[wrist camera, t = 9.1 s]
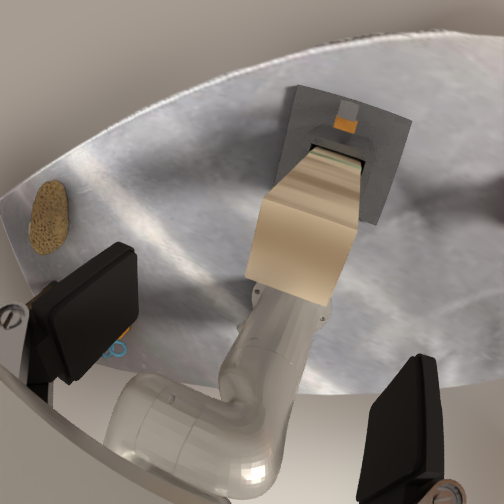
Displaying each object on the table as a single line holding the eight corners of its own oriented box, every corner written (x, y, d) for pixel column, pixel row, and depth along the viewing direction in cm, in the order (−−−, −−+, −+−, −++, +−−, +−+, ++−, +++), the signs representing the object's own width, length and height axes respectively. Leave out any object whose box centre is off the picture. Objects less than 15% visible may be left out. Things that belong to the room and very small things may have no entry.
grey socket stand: (375, 221, 39) (379, 301, 24) (275, 187, 41) (218, 244, 26) (410, 120, 31) (449, 134, 16) (299, 85, 34) (250, 72, 19)
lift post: (349, 189, 31) (326, 308, 14) (312, 177, 31) (243, 277, 15) (361, 152, 28) (359, 229, 12) (322, 139, 29) (261, 196, 13)
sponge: (61, 251, 67) (84, 231, 54) (34, 262, 61) (50, 244, 48) (45, 202, 65) (65, 170, 53) (19, 211, 60) (31, 179, 47)
